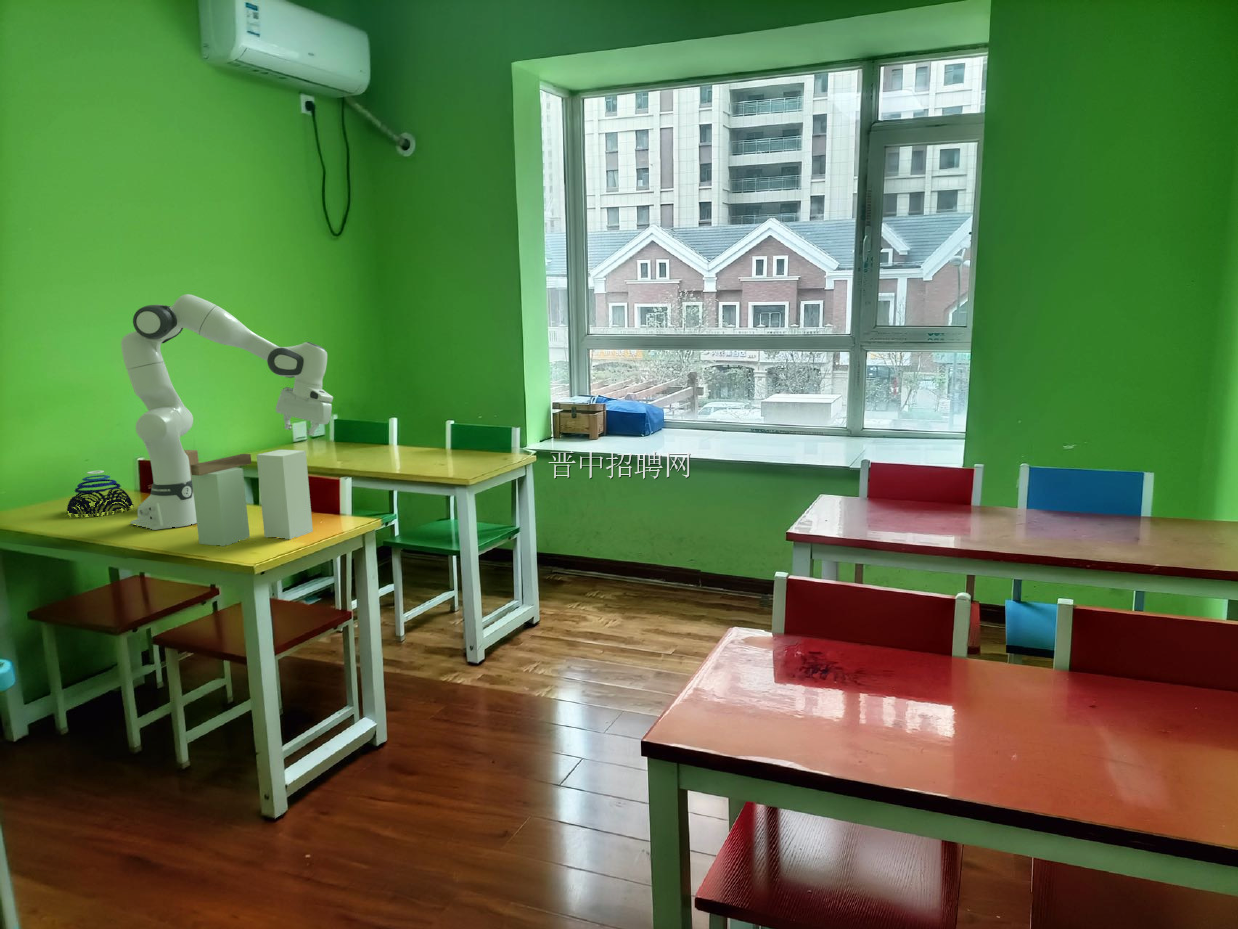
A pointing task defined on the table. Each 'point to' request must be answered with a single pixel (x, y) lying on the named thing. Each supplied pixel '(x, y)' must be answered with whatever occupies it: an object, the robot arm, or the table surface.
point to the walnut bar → (220, 464)
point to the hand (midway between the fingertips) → (298, 432)
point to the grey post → (284, 493)
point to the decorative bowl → (83, 502)
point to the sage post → (221, 507)
